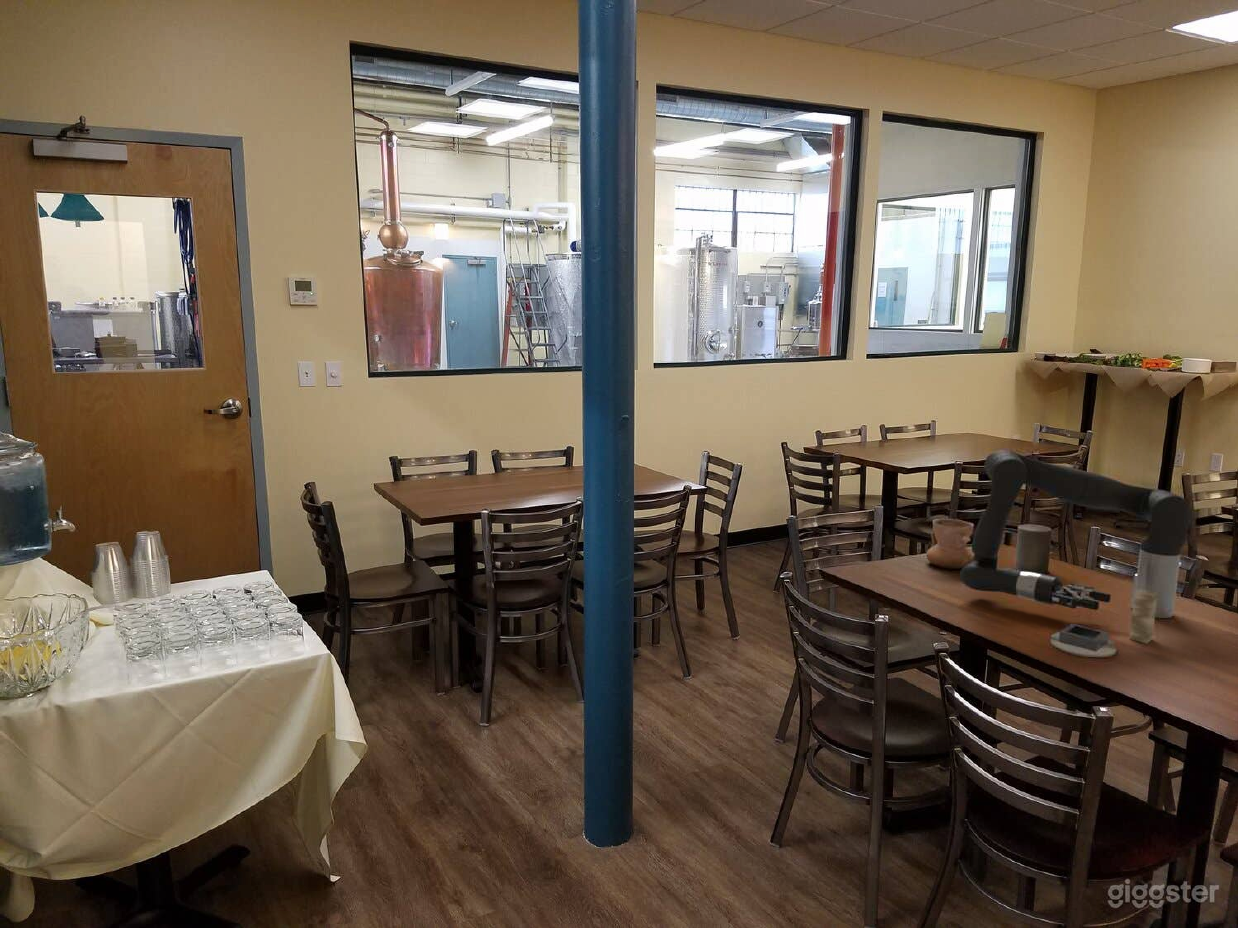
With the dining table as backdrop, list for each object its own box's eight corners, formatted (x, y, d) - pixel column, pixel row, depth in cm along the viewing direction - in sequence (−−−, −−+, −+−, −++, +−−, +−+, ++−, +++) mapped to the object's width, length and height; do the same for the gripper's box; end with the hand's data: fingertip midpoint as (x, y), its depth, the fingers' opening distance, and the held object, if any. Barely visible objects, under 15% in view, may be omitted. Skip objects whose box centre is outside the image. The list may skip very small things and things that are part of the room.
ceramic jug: (986, 572, 269) (989, 527, 267) (943, 574, 266) (947, 529, 264) (953, 557, 286) (956, 515, 284) (913, 559, 283) (916, 516, 281)
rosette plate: (1041, 645, 210) (1043, 631, 209) (1062, 631, 219) (1064, 617, 219) (1104, 662, 200) (1106, 647, 199) (1123, 647, 209) (1125, 632, 209)
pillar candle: (1055, 573, 268) (1059, 526, 266) (1027, 575, 266) (1032, 527, 264) (1034, 565, 278) (1038, 519, 275) (1007, 566, 275) (1011, 520, 273)
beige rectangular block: (1129, 638, 215) (1134, 592, 213) (1134, 634, 218) (1139, 589, 215) (1147, 643, 212) (1153, 596, 210) (1152, 639, 215) (1157, 592, 213)
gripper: (1029, 579, 226) (1096, 594, 214) (1049, 568, 236) (1115, 582, 224) (1026, 606, 227) (1093, 623, 216) (1047, 595, 237) (1112, 609, 225)
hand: (1104, 602), depth 220 cm, fingers open, 8 cm apart
